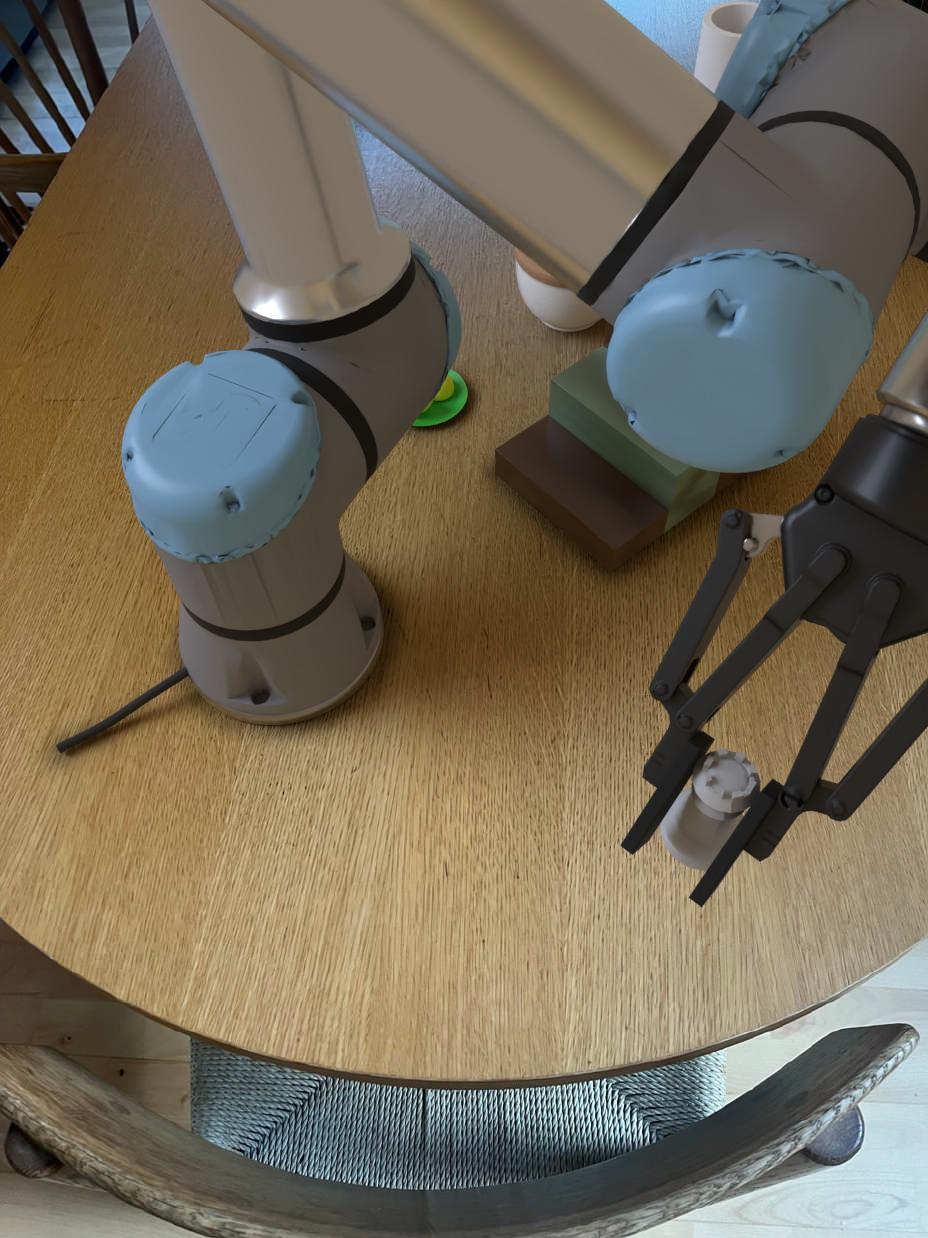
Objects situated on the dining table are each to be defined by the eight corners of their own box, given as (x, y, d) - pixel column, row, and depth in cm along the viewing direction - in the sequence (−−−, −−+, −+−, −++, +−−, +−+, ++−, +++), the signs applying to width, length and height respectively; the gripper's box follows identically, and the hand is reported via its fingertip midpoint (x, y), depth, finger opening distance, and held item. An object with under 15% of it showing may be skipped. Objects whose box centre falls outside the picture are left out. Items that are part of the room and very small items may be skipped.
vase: (669, 202, 104) (702, -1, 87) (739, 206, 103) (785, 2, 86) (667, 270, 98) (701, 66, 81) (740, 275, 97) (791, 70, 80)
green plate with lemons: (452, 438, 86) (451, 415, 84) (367, 421, 87) (363, 397, 85) (478, 377, 90) (478, 353, 88) (396, 361, 92) (393, 337, 89)
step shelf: (610, 573, 78) (625, 480, 68) (494, 473, 84) (494, 375, 74) (762, 460, 84) (794, 361, 74) (643, 375, 90) (660, 273, 81)
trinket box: (617, 354, 91) (629, 269, 83) (504, 341, 93) (505, 256, 85) (630, 281, 97) (642, 194, 89) (523, 270, 98) (525, 184, 91)
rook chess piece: (747, 875, 52) (785, 818, 45) (662, 874, 52) (687, 816, 45) (736, 795, 54) (770, 730, 47) (654, 794, 54) (678, 729, 48)
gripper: (1132, 543, 42) (826, 949, 49) (793, 373, 48) (565, 757, 55) (1158, 544, 35) (800, 1012, 43) (761, 347, 41) (507, 786, 49)
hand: (668, 867), depth 49 cm, fingers closed on rook chess piece, 3 cm apart
